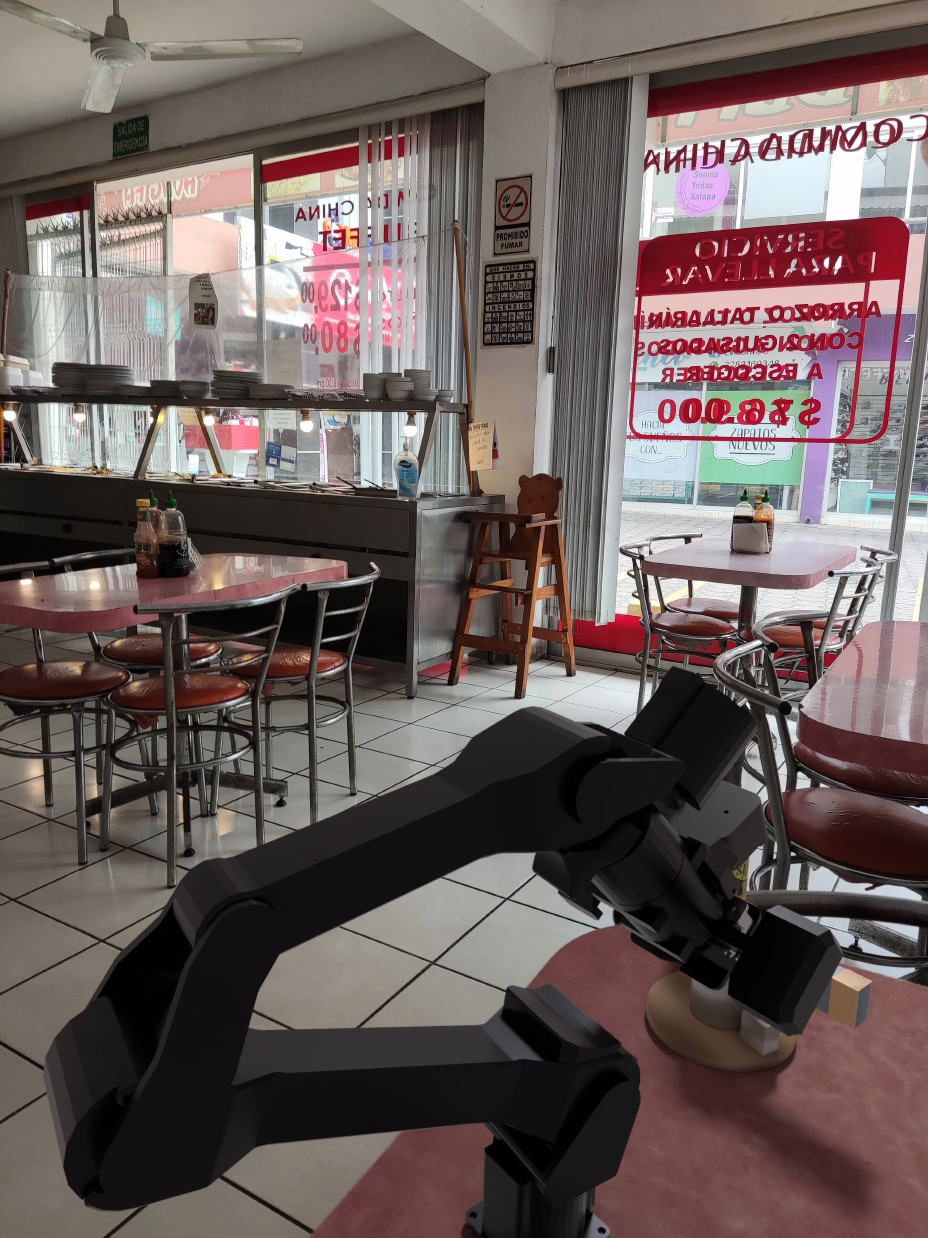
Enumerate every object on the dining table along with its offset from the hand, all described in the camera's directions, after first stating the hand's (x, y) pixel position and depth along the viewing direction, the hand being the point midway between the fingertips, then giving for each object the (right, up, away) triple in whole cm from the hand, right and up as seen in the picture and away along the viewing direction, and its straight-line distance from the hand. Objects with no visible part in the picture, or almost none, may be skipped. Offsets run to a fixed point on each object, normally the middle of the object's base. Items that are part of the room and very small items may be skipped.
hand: (730, 968), depth 62 cm
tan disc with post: (+3, -9, +12) cm, 16 cm away
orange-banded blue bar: (+5, -4, +8) cm, 10 cm away
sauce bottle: (+5, -7, +25) cm, 26 cm away
